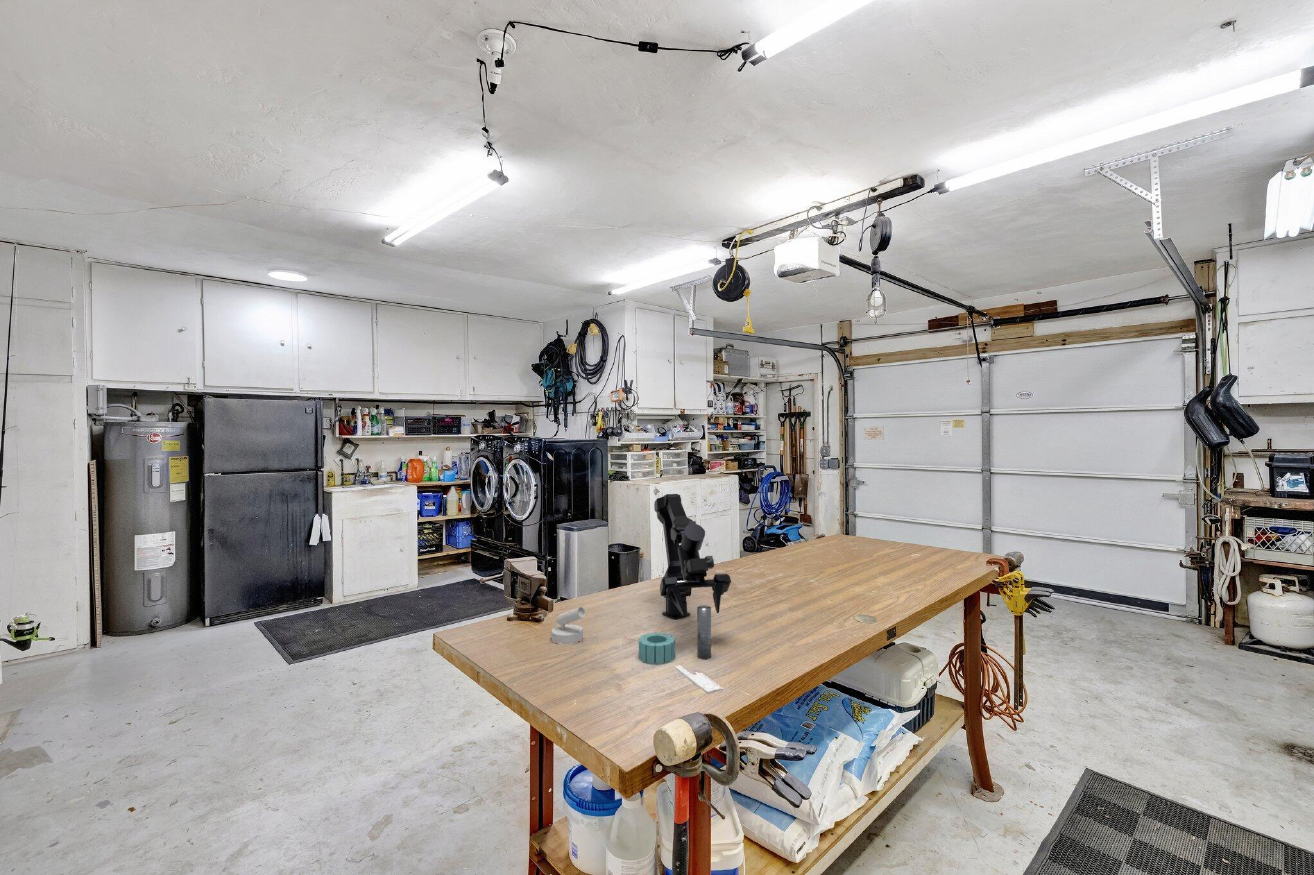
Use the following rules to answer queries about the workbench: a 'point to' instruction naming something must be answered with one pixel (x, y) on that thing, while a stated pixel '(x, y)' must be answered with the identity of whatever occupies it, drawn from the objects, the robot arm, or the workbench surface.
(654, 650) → the teal notched ring
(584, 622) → the workbench surface
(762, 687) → the workbench surface
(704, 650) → the shiny metal cylinder
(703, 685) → the butcher knife
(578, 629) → the wall hook
